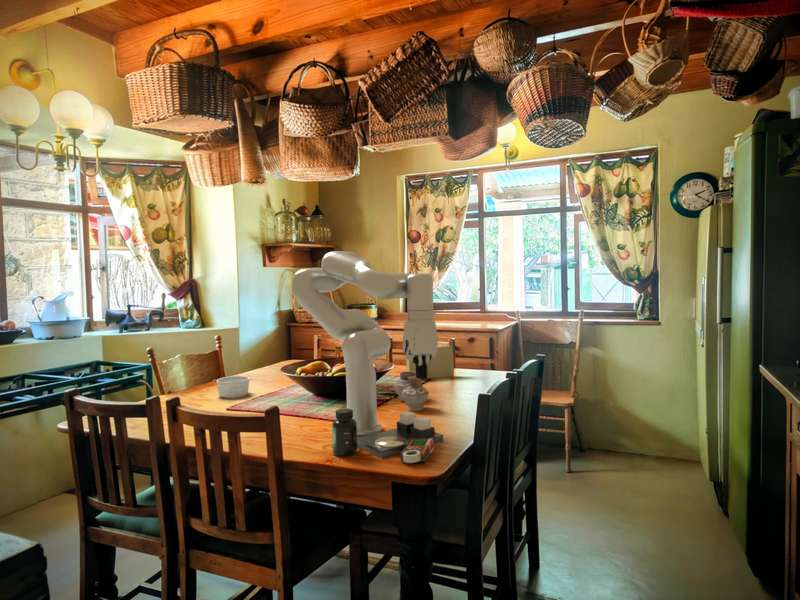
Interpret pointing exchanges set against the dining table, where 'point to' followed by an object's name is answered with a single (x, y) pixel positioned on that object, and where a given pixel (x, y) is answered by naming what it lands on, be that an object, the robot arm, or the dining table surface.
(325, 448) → the dining table surface
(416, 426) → the white cube
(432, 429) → the breaker board
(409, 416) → the block
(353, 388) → the robot arm
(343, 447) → the supplement bottle
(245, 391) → the ramekin
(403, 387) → the pottery
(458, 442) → the dining table surface
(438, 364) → the cheese
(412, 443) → the electronic device
